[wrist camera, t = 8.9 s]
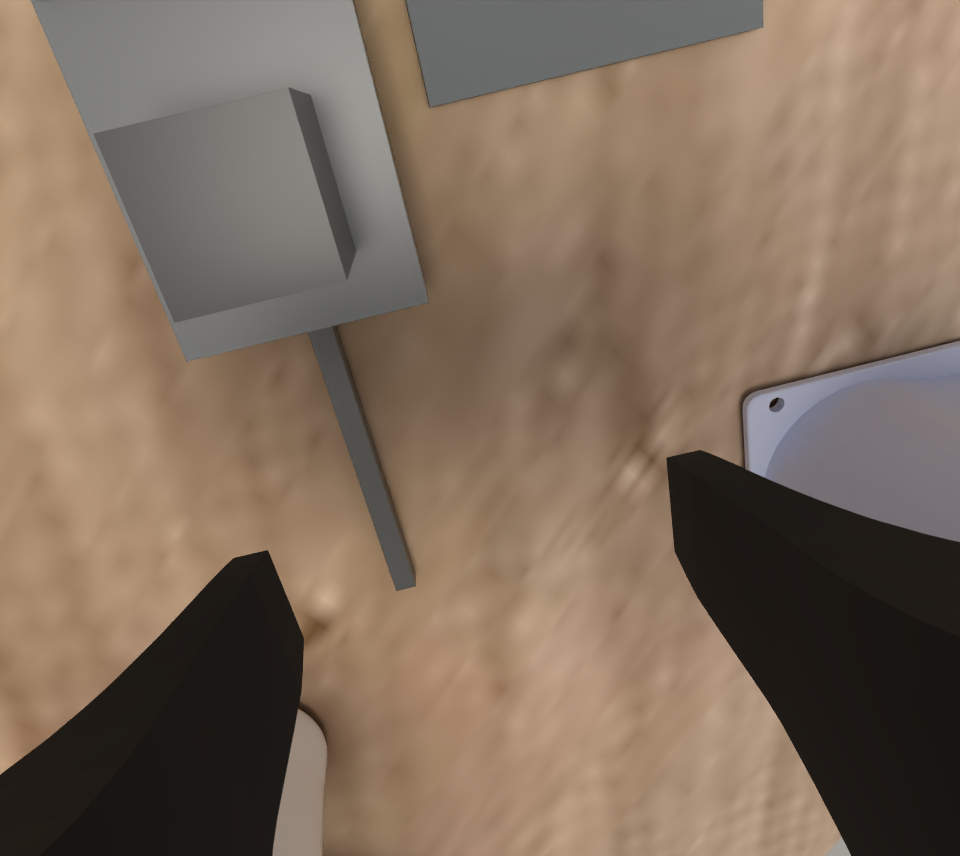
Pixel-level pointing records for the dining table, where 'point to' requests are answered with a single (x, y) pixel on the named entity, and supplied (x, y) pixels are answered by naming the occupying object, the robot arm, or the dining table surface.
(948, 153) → the dining table surface
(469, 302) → the dining table surface
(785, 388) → the robot arm
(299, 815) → the drinking glass
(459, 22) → the felt mat
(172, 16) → the power strip
